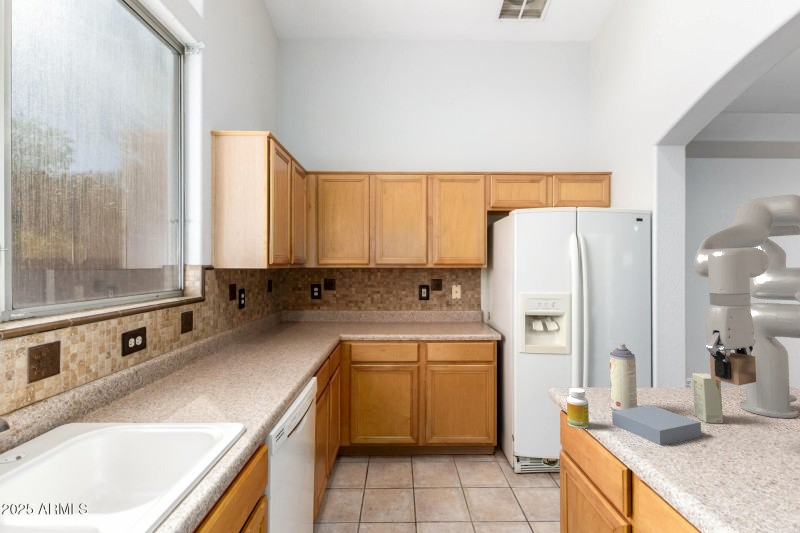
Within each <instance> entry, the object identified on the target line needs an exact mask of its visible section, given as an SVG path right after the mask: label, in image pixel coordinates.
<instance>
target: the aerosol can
mask: <svg viewBox="0 0 800 533" xmlns="http://www.w3.org/2000/svg"><path fill="white" fill-rule="evenodd" d="M636 363H637V362H636V354H634V353H632V351H631V350H630V349H629V348H627V347H626V344H625V343H618V346H617V347H616V348H615V349H614V350H612V352H610V354H609V366H610V367H609V368H610V369H609V371H610V372H609V373H610V401H611V402H610V406H611V407H610V408H611V410H612V411H618V410H624V409H629V408H635V407H638V394H637V393H638V392H637V368H636V367H637V366H636V365H637V364H636Z"/></svg>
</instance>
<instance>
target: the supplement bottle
mask: <svg viewBox="0 0 800 533" xmlns="http://www.w3.org/2000/svg"><path fill="white" fill-rule="evenodd" d="M568 391H569V392H568V393H569V396H568V397H567V398H566V412H567V415H566V416H567V417H566V418H567V425H569V426H570V427H572V428H575V429H581V430H582V429H587V428H589V426H590V418H589V417H590V415H589V400H588V399H587V398H586V390H584V389H582V388H579V387H572V388H569V389H568Z"/></svg>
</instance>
